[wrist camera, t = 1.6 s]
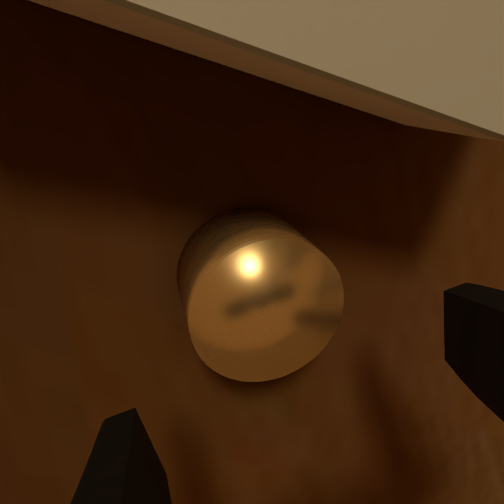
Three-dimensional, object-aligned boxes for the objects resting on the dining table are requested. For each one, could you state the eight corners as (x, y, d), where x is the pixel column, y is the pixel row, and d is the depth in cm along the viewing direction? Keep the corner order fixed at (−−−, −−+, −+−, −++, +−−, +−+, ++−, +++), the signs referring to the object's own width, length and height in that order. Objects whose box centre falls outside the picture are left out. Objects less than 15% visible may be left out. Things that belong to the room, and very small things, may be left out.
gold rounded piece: (320, 220, 14) (365, 253, 12) (282, 332, 16) (315, 385, 13) (193, 194, 13) (212, 225, 10) (163, 321, 14) (173, 378, 11)
